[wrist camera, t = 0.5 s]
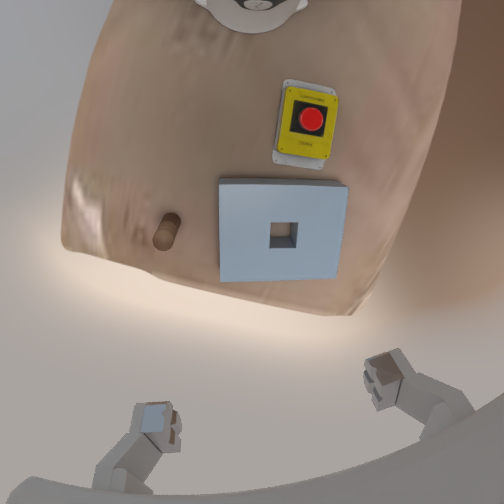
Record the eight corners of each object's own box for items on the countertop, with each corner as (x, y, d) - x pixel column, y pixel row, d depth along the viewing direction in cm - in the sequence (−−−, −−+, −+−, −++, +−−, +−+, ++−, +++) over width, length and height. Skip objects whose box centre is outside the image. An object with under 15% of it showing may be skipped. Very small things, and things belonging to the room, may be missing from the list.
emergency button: (344, 87, 41) (329, 175, 47) (335, 89, 45) (321, 170, 51) (288, 74, 40) (274, 166, 46) (283, 78, 44) (270, 162, 50)
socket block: (219, 178, 50) (218, 184, 45) (338, 181, 52) (348, 187, 47) (220, 268, 57) (220, 281, 52) (327, 265, 59) (335, 278, 55)
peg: (162, 212, 51) (151, 231, 43) (179, 212, 52) (172, 230, 44) (163, 229, 53) (153, 251, 45) (181, 229, 53) (174, 250, 45)
